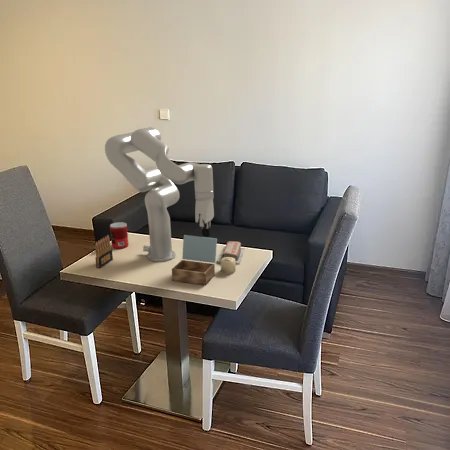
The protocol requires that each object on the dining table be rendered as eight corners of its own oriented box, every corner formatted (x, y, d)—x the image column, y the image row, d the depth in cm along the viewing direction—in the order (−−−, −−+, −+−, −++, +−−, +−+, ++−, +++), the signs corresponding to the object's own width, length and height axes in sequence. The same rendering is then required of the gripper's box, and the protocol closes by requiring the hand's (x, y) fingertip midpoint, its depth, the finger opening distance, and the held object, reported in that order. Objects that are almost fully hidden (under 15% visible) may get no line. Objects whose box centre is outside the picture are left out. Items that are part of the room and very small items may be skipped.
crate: (172, 280, 190) (171, 269, 189) (182, 271, 199) (182, 259, 198) (205, 285, 186) (205, 273, 184) (214, 275, 195) (214, 264, 193)
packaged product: (223, 239, 222) (244, 240, 221) (223, 249, 224) (244, 250, 222) (216, 253, 205) (239, 255, 204) (216, 264, 207) (239, 265, 205)
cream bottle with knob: (219, 272, 197) (218, 261, 195) (223, 267, 202) (223, 255, 201) (232, 274, 195) (232, 262, 194) (237, 269, 201) (237, 257, 199)
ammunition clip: (109, 259, 213) (107, 233, 209) (113, 259, 213) (110, 234, 209) (96, 268, 203) (93, 241, 200) (99, 268, 203) (97, 242, 199)
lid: (183, 235, 197) (184, 235, 198) (182, 259, 198) (183, 258, 199) (216, 238, 192) (217, 238, 193) (214, 263, 193) (215, 262, 194)
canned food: (131, 244, 230) (130, 223, 227) (121, 250, 223) (119, 228, 220) (118, 242, 233) (116, 221, 230) (108, 248, 226) (106, 226, 223)
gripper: (202, 190, 203) (204, 231, 208) (188, 198, 189) (191, 242, 195) (219, 190, 200) (220, 232, 206) (206, 199, 187) (208, 243, 192)
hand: (206, 237), depth 200 cm, fingers closed
